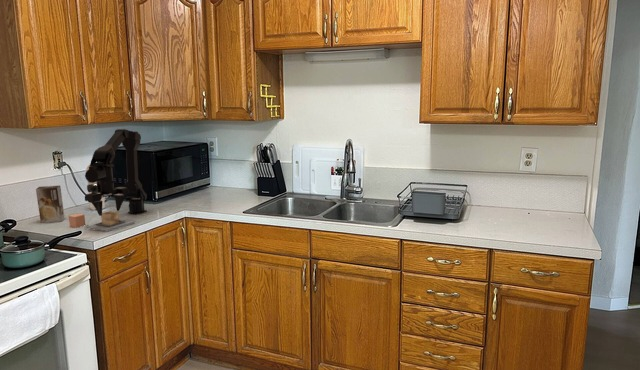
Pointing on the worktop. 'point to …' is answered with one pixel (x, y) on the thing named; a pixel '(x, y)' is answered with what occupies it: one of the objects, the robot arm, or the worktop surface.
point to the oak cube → (110, 218)
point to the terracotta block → (77, 220)
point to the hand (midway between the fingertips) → (109, 213)
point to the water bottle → (98, 193)
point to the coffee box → (50, 204)
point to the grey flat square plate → (107, 228)
